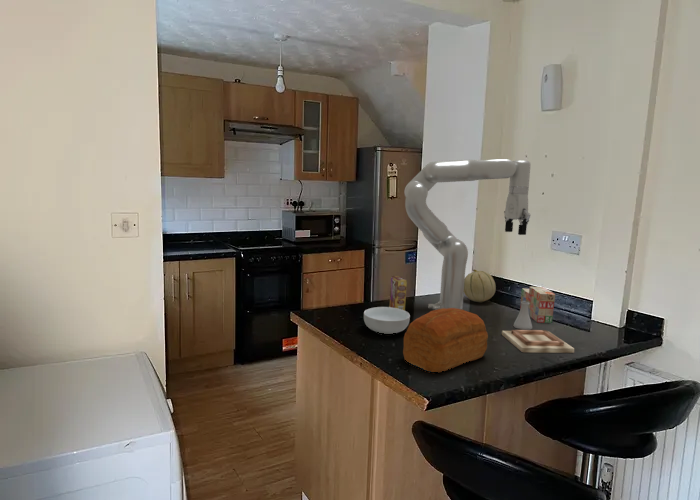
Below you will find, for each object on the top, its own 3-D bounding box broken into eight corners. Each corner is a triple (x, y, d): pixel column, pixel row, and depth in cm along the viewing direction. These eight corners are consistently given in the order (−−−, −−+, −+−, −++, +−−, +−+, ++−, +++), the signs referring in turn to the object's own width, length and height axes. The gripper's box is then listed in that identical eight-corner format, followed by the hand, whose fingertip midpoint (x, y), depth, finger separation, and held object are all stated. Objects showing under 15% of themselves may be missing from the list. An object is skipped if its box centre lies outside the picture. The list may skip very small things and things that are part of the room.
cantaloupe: (495, 307, 217) (497, 274, 215) (461, 303, 221) (464, 271, 218) (493, 299, 232) (495, 268, 229) (461, 296, 235) (464, 266, 233)
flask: (532, 326, 191) (534, 301, 190) (532, 331, 185) (535, 306, 183) (513, 323, 194) (515, 299, 192) (512, 328, 187) (515, 303, 185)
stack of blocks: (519, 308, 218) (522, 281, 216) (533, 308, 217) (536, 282, 216) (537, 322, 196) (539, 293, 194) (552, 323, 196) (555, 293, 194)
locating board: (522, 352, 162) (522, 344, 161) (501, 334, 179) (502, 327, 179) (574, 352, 163) (574, 345, 163) (548, 335, 181) (549, 328, 180)
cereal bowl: (353, 330, 178) (354, 312, 176) (382, 321, 190) (383, 304, 189) (390, 342, 166) (391, 323, 165) (418, 332, 178) (419, 314, 177)
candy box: (405, 316, 197) (407, 280, 195) (395, 317, 196) (397, 280, 194) (398, 310, 206) (400, 275, 204) (388, 310, 205) (390, 275, 203)
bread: (491, 357, 156) (495, 310, 154) (438, 377, 139) (441, 324, 136) (451, 343, 168) (454, 299, 166) (397, 360, 151) (400, 311, 148)
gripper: (498, 190, 204) (495, 230, 206) (522, 192, 187) (518, 236, 190) (514, 190, 205) (511, 230, 208) (539, 192, 189) (535, 235, 191)
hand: (515, 233), depth 199 cm, fingers open, 9 cm apart
